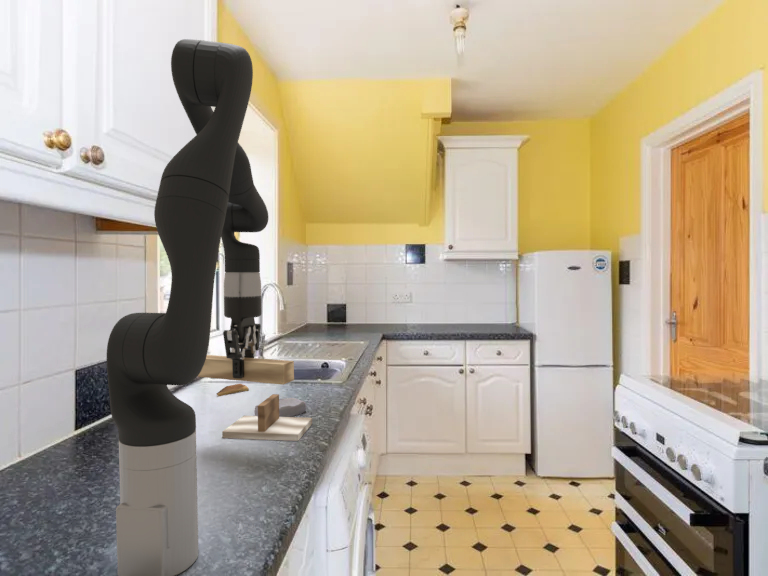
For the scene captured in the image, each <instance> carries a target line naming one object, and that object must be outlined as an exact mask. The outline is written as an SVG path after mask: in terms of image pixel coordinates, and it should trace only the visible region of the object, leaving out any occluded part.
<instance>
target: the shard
mask: <svg viewBox="0 0 768 576" xmlns="http://www.w3.org/2000/svg"><path fill="white" fill-rule="evenodd" d="M249 390H250V388H249V387H248V386H247V385H245V384H243V383H236V384H231V385H226V386H224V387H223V388H222V389H220V390H219V391H218V392H217V393H216V395H217V397H221V396H222V397H223V396H226V395H232V394H236V393H237V394H238V393H242V392H243V393H244V392H248V391H249Z"/></svg>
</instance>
